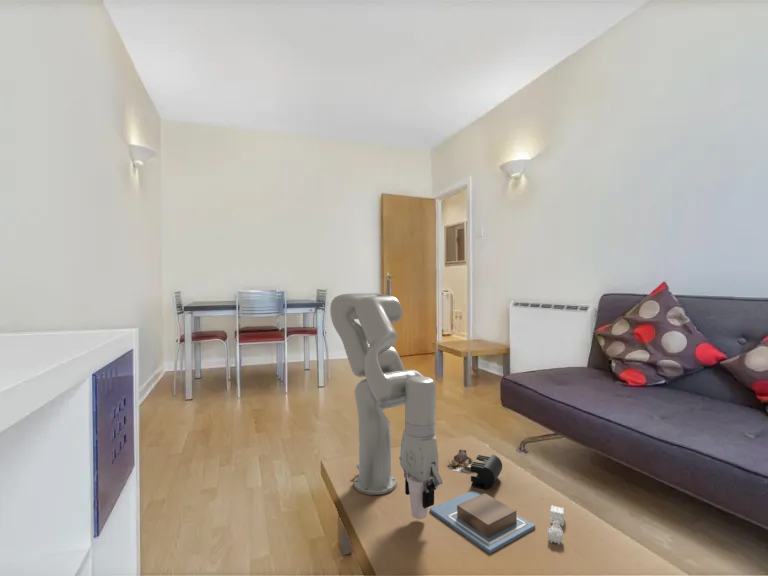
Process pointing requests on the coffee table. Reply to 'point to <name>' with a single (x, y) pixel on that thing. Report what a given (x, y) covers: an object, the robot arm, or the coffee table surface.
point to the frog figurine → (461, 462)
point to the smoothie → (416, 496)
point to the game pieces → (556, 524)
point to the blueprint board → (491, 544)
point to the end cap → (485, 471)
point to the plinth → (486, 514)
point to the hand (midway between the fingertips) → (419, 498)
